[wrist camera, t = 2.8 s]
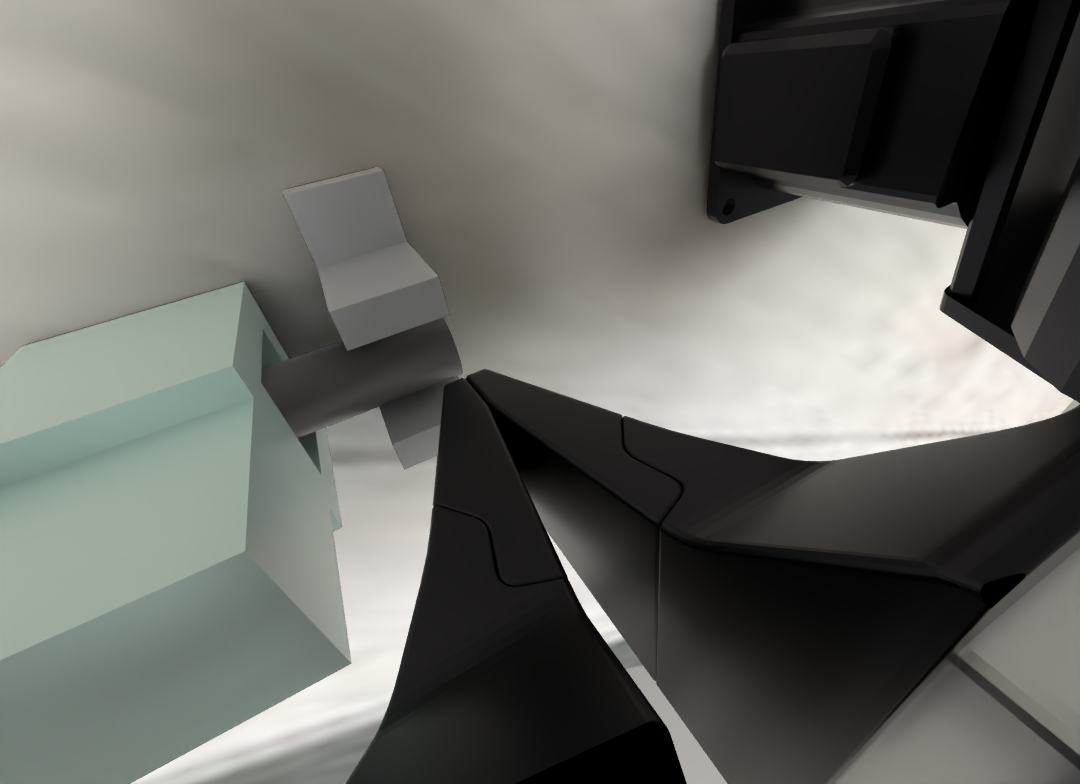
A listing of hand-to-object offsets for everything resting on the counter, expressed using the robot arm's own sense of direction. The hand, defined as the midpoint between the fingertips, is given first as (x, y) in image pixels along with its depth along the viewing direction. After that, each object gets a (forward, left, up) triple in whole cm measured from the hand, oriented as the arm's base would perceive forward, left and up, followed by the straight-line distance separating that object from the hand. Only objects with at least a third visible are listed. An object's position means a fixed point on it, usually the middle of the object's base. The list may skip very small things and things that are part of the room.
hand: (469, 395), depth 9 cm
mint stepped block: (+5, 0, -4) cm, 7 cm away
